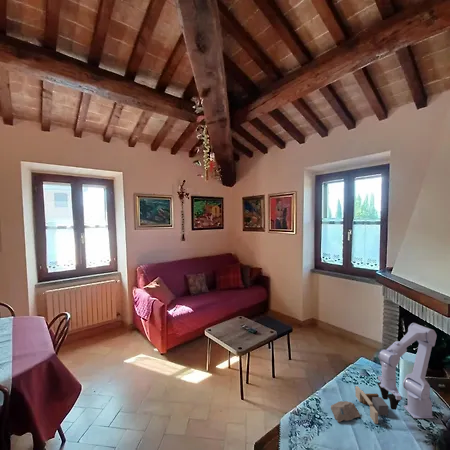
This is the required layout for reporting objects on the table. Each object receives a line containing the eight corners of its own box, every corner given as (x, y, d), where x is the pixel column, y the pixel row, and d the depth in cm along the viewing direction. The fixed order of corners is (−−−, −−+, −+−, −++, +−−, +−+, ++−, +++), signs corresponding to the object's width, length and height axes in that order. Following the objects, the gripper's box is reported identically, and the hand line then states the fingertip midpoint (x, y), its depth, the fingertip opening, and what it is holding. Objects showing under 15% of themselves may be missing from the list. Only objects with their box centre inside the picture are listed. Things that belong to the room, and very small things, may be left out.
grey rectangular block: (380, 406, 130) (380, 397, 130) (388, 415, 124) (387, 405, 124) (372, 406, 130) (372, 397, 130) (379, 415, 124) (378, 405, 124)
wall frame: (358, 395, 138) (358, 384, 138) (378, 423, 119) (377, 410, 119) (355, 395, 138) (355, 384, 138) (375, 423, 119) (374, 410, 119)
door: (362, 402, 133) (362, 393, 132) (377, 402, 132) (377, 393, 132) (364, 406, 130) (364, 396, 130) (380, 406, 130) (380, 396, 130)
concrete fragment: (362, 419, 122) (362, 407, 122) (337, 424, 119) (337, 412, 119) (352, 408, 129) (352, 397, 129) (328, 413, 126) (328, 401, 126)
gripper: (371, 367, 126) (372, 393, 126) (389, 386, 112) (390, 415, 112) (385, 367, 126) (386, 393, 126) (405, 386, 111) (406, 415, 112)
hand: (389, 403), depth 119 cm, fingers open, 6 cm apart
